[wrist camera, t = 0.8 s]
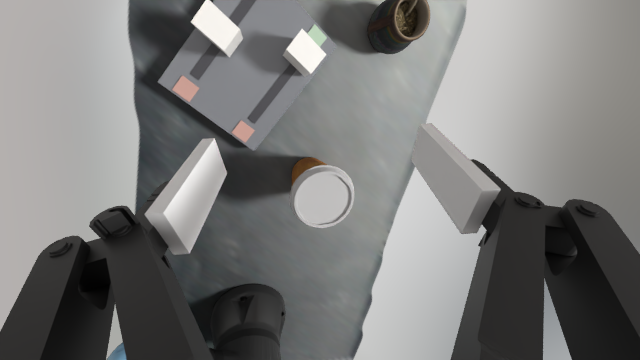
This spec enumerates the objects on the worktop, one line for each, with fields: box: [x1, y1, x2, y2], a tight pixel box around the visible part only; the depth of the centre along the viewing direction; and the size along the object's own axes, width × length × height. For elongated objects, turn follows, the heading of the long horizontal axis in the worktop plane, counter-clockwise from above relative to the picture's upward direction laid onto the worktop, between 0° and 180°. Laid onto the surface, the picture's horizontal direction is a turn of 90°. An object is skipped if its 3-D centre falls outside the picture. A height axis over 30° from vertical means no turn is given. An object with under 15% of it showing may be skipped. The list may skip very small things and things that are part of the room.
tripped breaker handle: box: [191, 0, 243, 57], centre depth 28 cm, size 3×4×5 cm
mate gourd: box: [368, 0, 430, 54], centre depth 33 cm, size 7×8×10 cm
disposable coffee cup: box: [290, 157, 354, 228], centre depth 37 cm, size 10×10×12 cm
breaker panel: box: [158, 0, 337, 151], centre depth 33 cm, size 20×15×3 cm
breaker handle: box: [283, 29, 326, 77], centre depth 31 cm, size 3×4×5 cm
